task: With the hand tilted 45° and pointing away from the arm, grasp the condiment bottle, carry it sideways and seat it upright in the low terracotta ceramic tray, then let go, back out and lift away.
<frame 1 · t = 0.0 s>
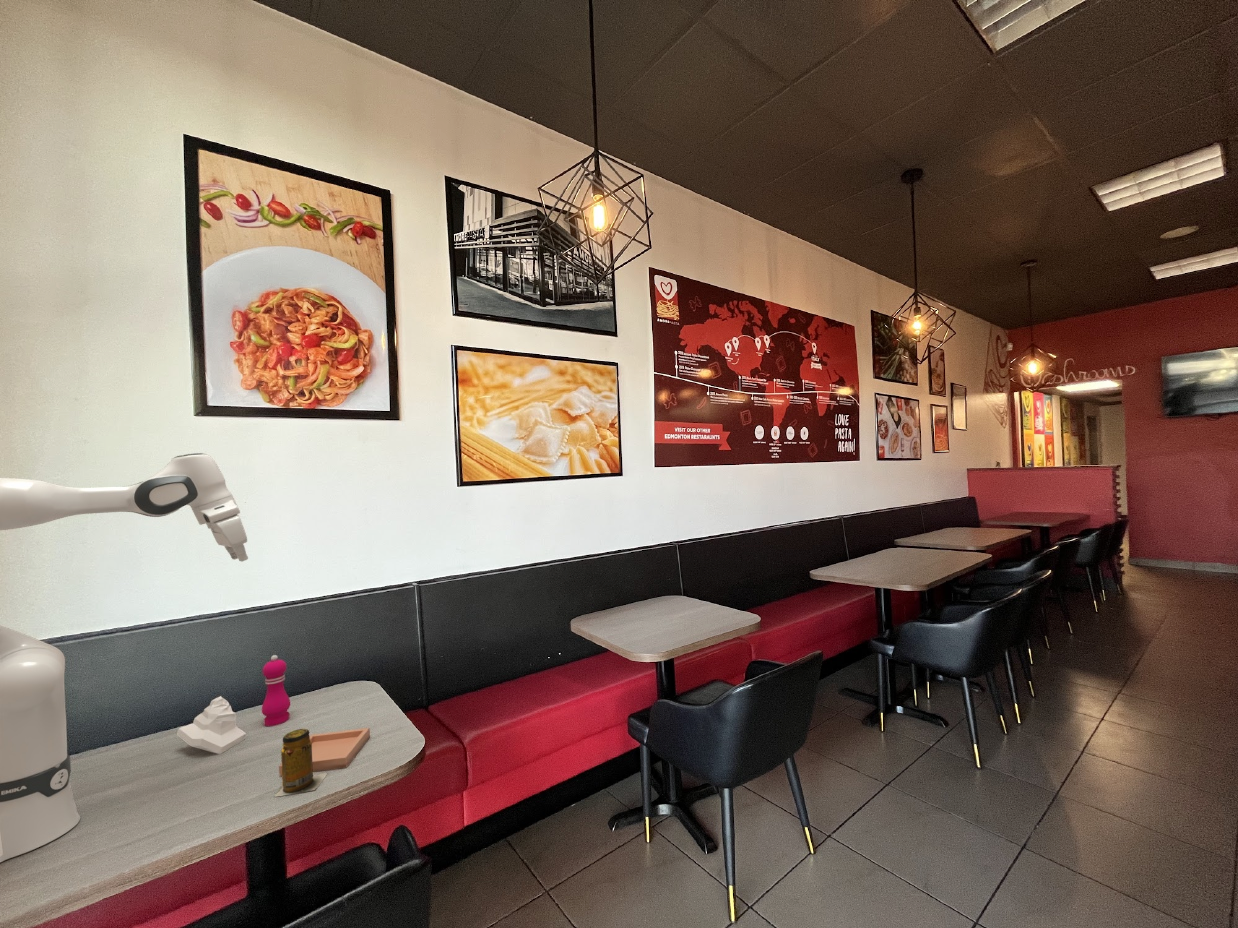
hand: (240, 559, 134), 52 cm above the table, tool tilted 20°, fingers open, 8 cm apart
condiment: (302, 785, 118), on the table
pepper mill: (276, 721, 153), on the table
white stepped rock sculpture: (214, 746, 140), on the table
tray: (327, 755, 130), on the table
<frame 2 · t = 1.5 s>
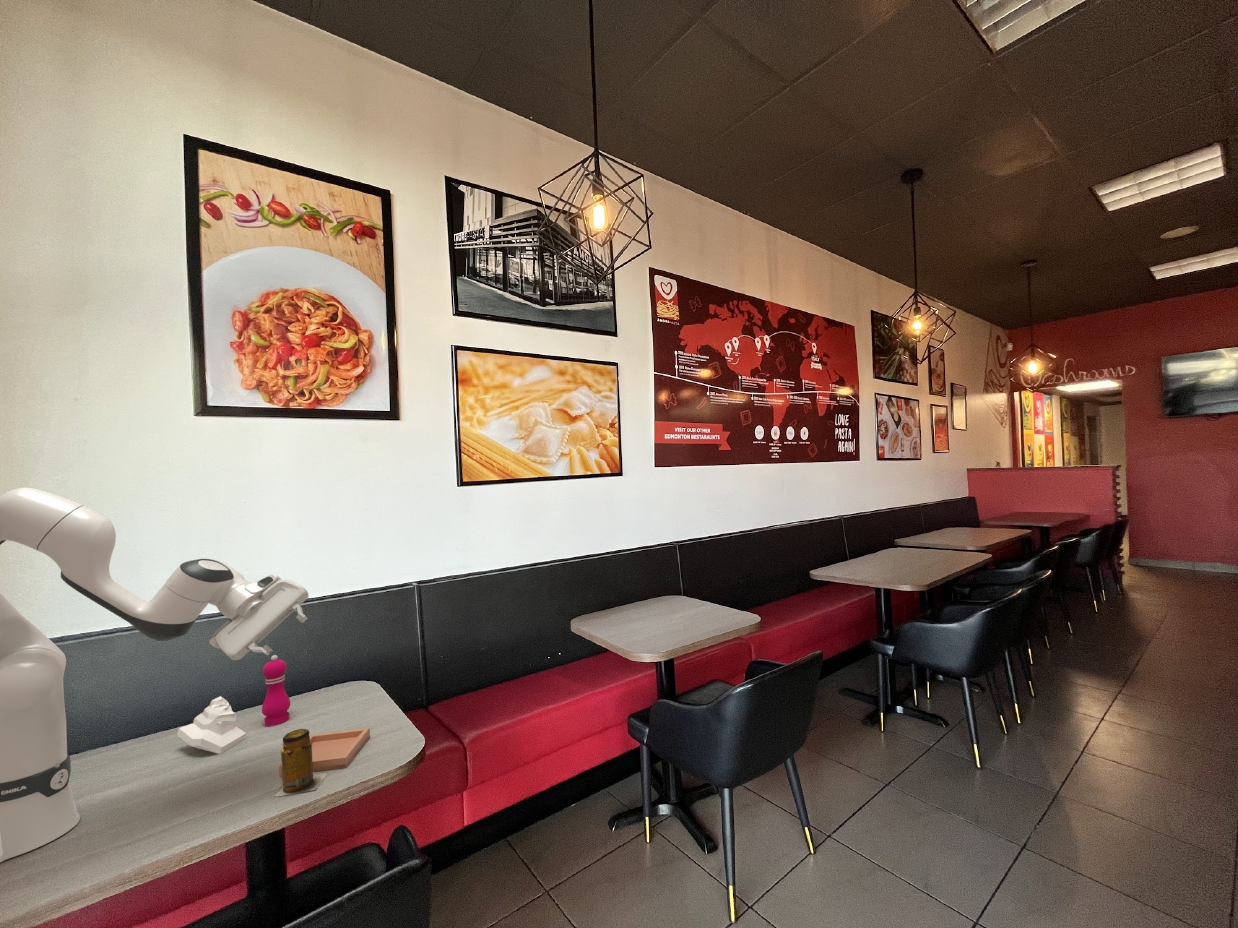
hand: (287, 635, 121), 34 cm above the table, tool tilted 55°, fingers open, 8 cm apart
nothing on the table moved.
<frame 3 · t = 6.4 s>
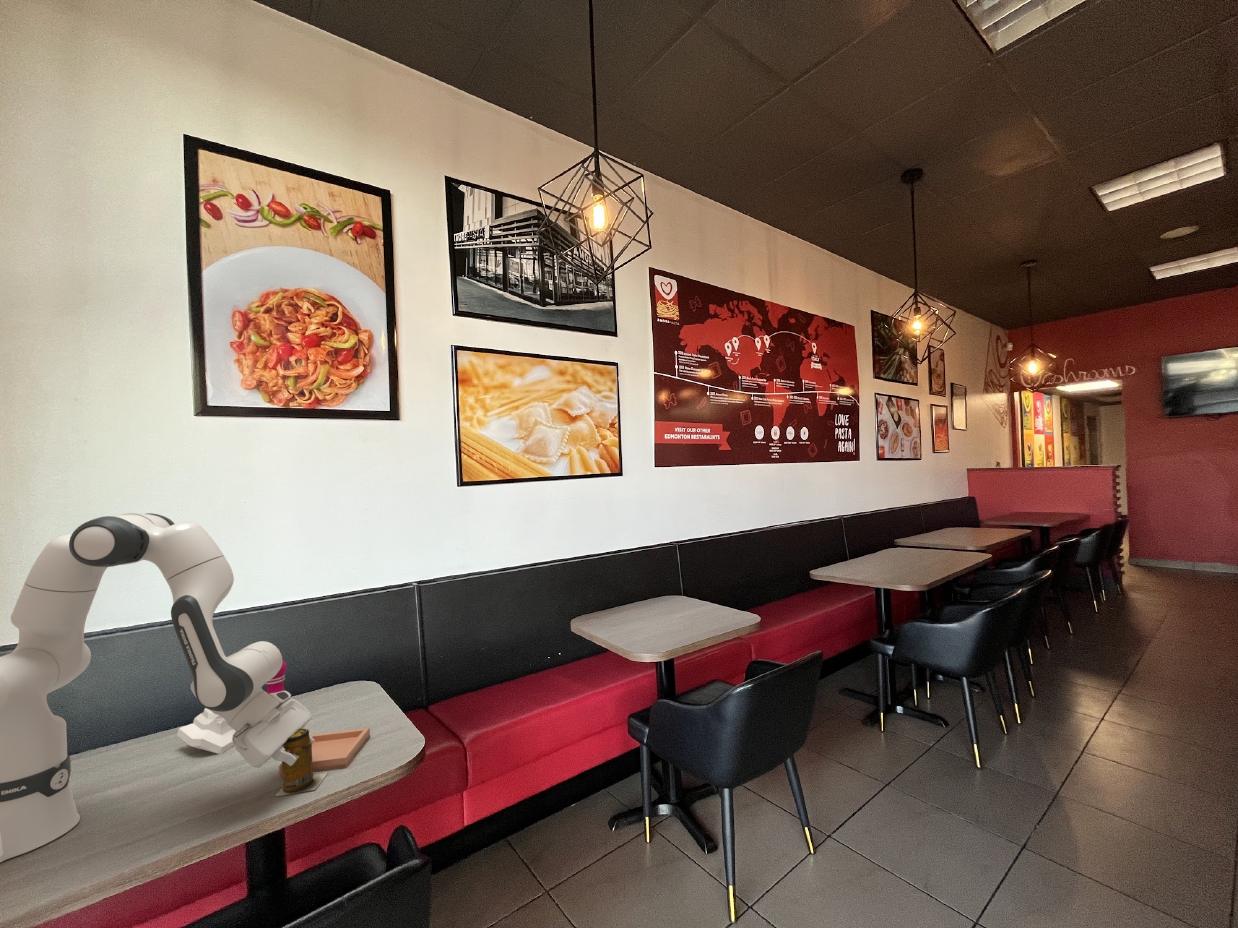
hand: (303, 752, 118), 7 cm above the table, tool tilted 45°, fingers closed on condiment, 6 cm apart
condiment: (302, 785, 118), on the table, touching gripper
everything else where it was.
when the fingers open (9 cm above the table, at t = 13.7 s): condiment stays where it is, resting on tray.
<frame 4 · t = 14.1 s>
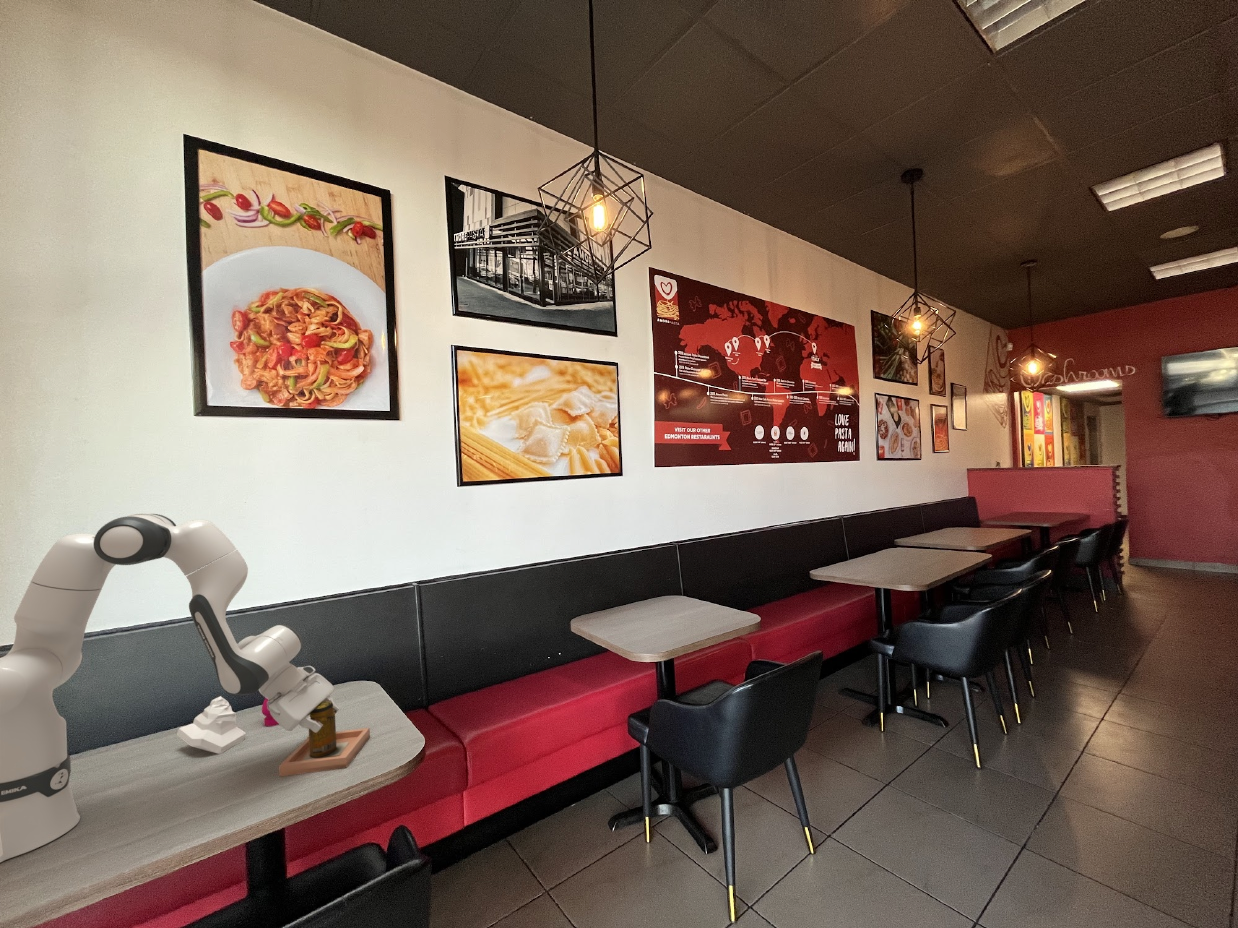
hand: (328, 720, 131), 9 cm above the table, tool tilted 45°, fingers open, 8 cm apart
condiment: (326, 752, 130), point 1 cm above the table, touching tray
everything else where it was.
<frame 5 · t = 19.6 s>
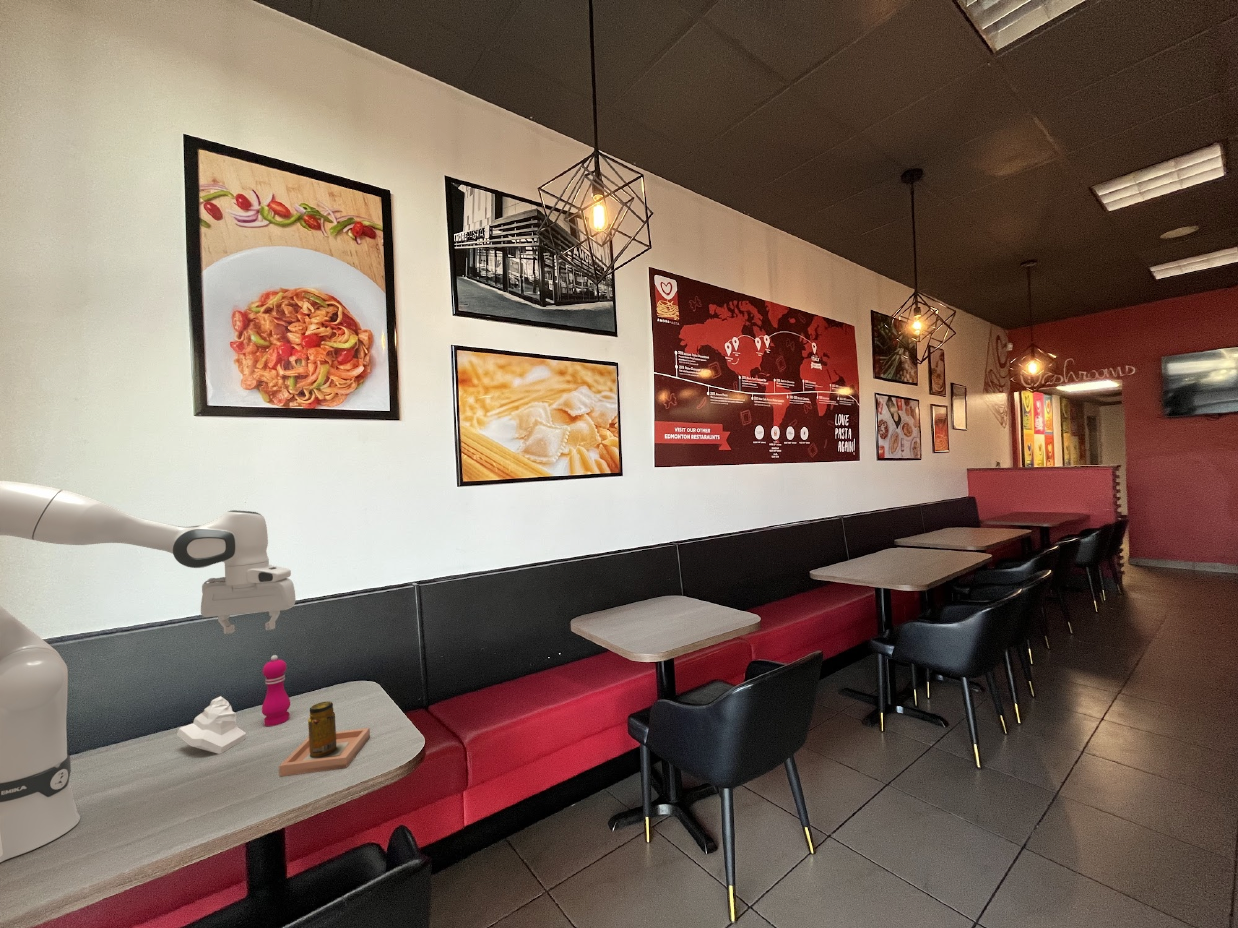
hand: (250, 631, 124), 35 cm above the table, tool pointing down, fingers open, 8 cm apart
nothing on the table moved.
at the end: condiment 0.1 cm off-centre on the tray, point 0.8 cm above the tray's base; condiment tilted 0°; the gripper is holding nothing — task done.
